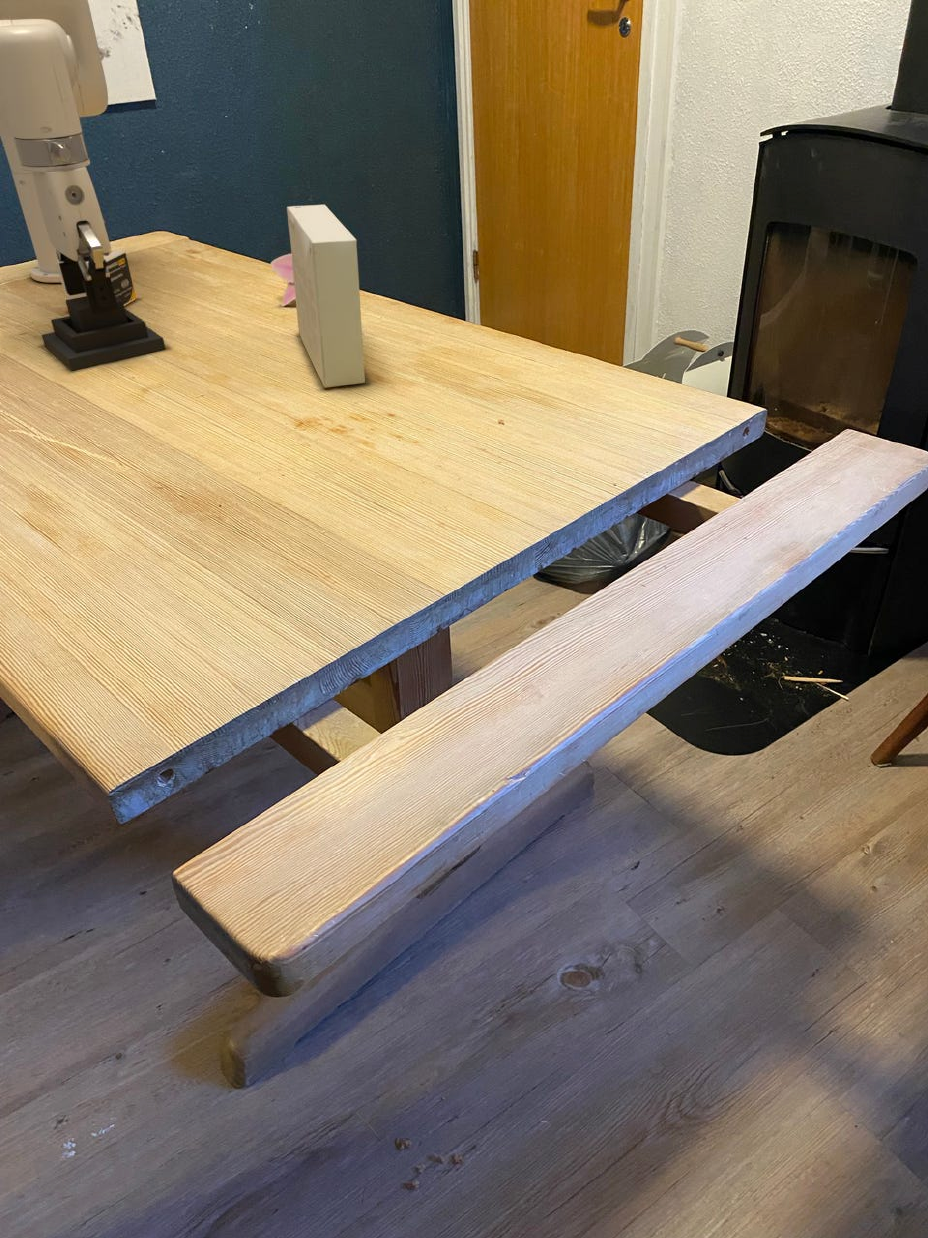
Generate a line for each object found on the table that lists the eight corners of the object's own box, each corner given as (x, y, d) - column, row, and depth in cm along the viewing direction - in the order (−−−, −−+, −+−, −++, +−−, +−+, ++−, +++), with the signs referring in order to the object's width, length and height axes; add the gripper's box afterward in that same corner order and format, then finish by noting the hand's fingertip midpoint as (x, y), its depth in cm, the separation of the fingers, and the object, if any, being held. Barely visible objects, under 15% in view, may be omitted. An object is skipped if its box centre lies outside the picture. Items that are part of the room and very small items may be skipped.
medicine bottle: (113, 313, 130) (90, 224, 123) (68, 312, 131) (43, 223, 124) (137, 299, 135) (117, 213, 128) (94, 297, 137) (72, 212, 130)
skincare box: (371, 384, 104) (357, 238, 95) (324, 390, 103) (306, 243, 94) (339, 329, 121) (325, 201, 112) (298, 334, 120) (281, 204, 111)
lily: (275, 301, 136) (247, 250, 128) (341, 260, 137) (317, 207, 128) (307, 345, 130) (280, 296, 122) (376, 302, 131) (354, 250, 122)
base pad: (44, 345, 119) (36, 319, 117) (133, 326, 124) (127, 300, 122) (71, 370, 111) (63, 342, 109) (165, 349, 116) (159, 321, 114)
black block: (75, 335, 117) (65, 299, 115) (117, 326, 120) (109, 291, 117) (87, 346, 114) (77, 310, 111) (131, 336, 116) (122, 301, 114)
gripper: (109, 158, 101) (145, 312, 111) (63, 139, 112) (99, 281, 122) (40, 166, 97) (83, 325, 107) (0, 146, 108) (42, 292, 119)
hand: (92, 301), depth 115 cm, fingers open, 9 cm apart
